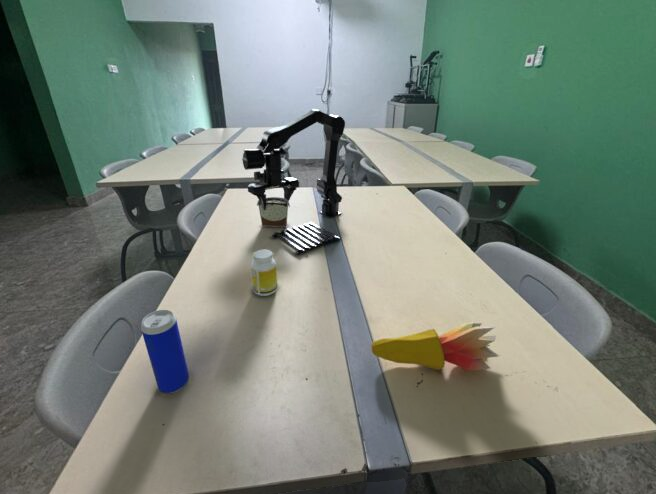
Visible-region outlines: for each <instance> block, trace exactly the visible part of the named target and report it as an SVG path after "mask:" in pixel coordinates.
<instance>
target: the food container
mask: <svg viewBox="0 0 656 494" xmlns="http://www.w3.org/2000/svg"><path fill="white" fill-rule="evenodd" d="M256 206H257V207H258V210H259V216H260V222H261V227H272V228H273V227H274V228H287V226H288V215H289V213H288V212H289V210H288V209H289V208H290V207H291V204H290V202H288V200H287V199H285V198H284V197H280V196H279V197H277V196H271V197H266V210H263V208H262V206H261V203H260V201H259V199H258V200H257V202H256Z"/></svg>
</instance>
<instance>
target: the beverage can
mask: <svg viewBox="0 0 656 494" xmlns="http://www.w3.org/2000/svg"><path fill="white" fill-rule="evenodd" d="M140 330H141V334H142V338H143V341H144V345H145V347H146V351H147V354H148V359H149V362H150V365H151V369H152V372H153V375H154V379H155V382H156V386H157V389H158V391H159V392H161V393H163V394H174V393H177V392H179V391H180V390H182V389H183V388H184V387H185V386H186V385H187V383H188V381H189V379H190V373H189V369H188V365H187V359H186V355H185V350H184V346H183V342H182V338H181V333H180V329H179V324H178V321H177V317H176V315H175V314H174V312H173V311H172V310H169V309H157V310H154V311H152V312H150V313H148V314H147V315H145V316H144V317H143V319H142V320H141V325H140Z"/></svg>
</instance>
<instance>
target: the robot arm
mask: <svg viewBox="0 0 656 494" xmlns="http://www.w3.org/2000/svg"><path fill="white" fill-rule="evenodd" d="M317 123H318V124H320V125H323V133H324V136H325V149H324V158H323V167H322V175H321V176H320V178H317V179H316V186H315V189H316V191H317V193H318V194H319V195H320V198H321V199H322V203H321V211H320V214H322V215H324V216H326V217H328V218H332V217H335V216H338V215H341V214H342V212H340V211H339V207H340V205H339V204H340V203H341V202H342V200H343V196H342V195H340V193H338V184H337V181H336V177H335V175H336V167H337V157H338V149H339V141H340V139H341V138H342V136H343V134H344V131H345V127H346V120H345V119H344V118H343V117H342V116H339V115H334V114H328V113H325V112H323V111H321V109H315V108H313V109H311V110H309V111H308V112H306V113H304V114H302V115H300V116H299V117H297V118H296V119H294V120H292V121H290V122H288V123H286V124H285V125H281V126H277V127H273V128H270V129H267V130H265V131H263V133H262V136H261V140H260V141H259V143H258V144H257V146H256V148H251V149H249V148H245V149H243V154H242V158H241V159H242V166H243V168H244V169H245V170H246V171H247V170H257V171H254V172H253V178H254V181H255V183H249V184H248V185H247V192H248V193H250V194H251V195H253V196H255V197H256V198H257V199H258V200H259V201H260V203H261V206H262V208H263V210H266V198H267V194H266V191H267V190H273V189H277V188H282V189H283V198H285V199H287V200H288V202H289V201H290V200H291V198H292V196H293V194H294V192H295V191H297V188H300V181H299V179H298V178H295V177H292V176H289V177H284V178H283V174H285V172H284V171H285V170H283V168H282V167H283V166H282V165H283V164H282V155H287V154H288V152H287V150H285V149H284V148H283V147H282V146H284V145H285V144H286V143H287V142H288V141H289V140H290V138H292V137H293V136H295V135H297V134H298V133H300V132H302V131H304V130H306V129H308V128H309V127H312V126H313V125H315V124H317ZM263 167H265V168H263ZM259 169H263V172H261V171H260V170H259ZM256 181H259V182H256ZM261 183H263V184H261ZM289 203H290V202H289Z"/></svg>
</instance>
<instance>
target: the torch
mask: <svg viewBox="0 0 656 494" xmlns="http://www.w3.org/2000/svg"><path fill="white" fill-rule="evenodd" d="M481 325H483V322H481V323H480V322H479V323H478V322H477V323H476V321H470V322H465V323H463V324H461V325H458V326H457V327H455V328H453V329H451V330H449V331H448V332H445V333H443V334H441V335H438V332H437V331H436V329H435V328H431V329H427V330H425V331H424V330H423V331H421V332H417V333H413V334H408V335H403V336H398V337H393V338H391V337H390V338H389V337H388V338H381V339H378V340H374V341H373V342H371V346H370V348H371V352H372V354H373V355H374V356H375V357H378V358H380V359H383V360H385V361H389V362H393V363H397V364H407V365H408V364H409V365H418V366H422V367H424V366H425V367H426V368H430V369H432V370H437V371H440V370H441V369H443V368H444V367H445V364H446V362H447V363H449V364H452V365H454V366H457V367H459V368H461V369H462V370H463V371H465V372H472V371H480V370H481V371H482V370H490V369H491V368H492V367H490V365H488V364H487V363H486V362H488V359H489V358H497V357H501V355H500V354H498V353H497V352H496V351H495V350H493V349H491V348H489V347H491V345H490V344H491V343H494V342H495V341H496V337H497V335H487V336H486V334H488V333H489V332H491V331H493V329H495V328H496V327H493V326H481Z"/></svg>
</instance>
